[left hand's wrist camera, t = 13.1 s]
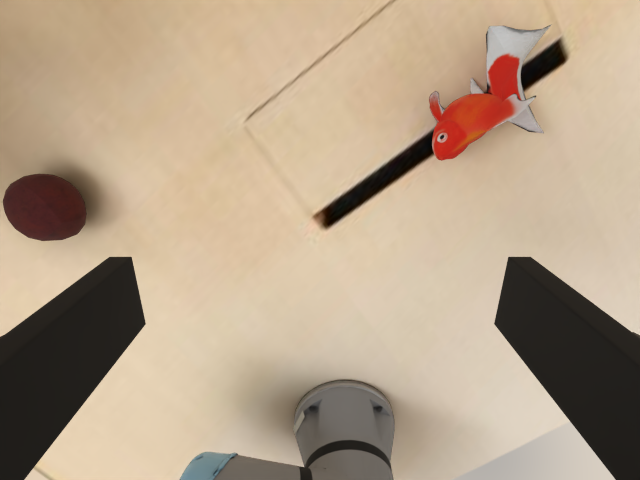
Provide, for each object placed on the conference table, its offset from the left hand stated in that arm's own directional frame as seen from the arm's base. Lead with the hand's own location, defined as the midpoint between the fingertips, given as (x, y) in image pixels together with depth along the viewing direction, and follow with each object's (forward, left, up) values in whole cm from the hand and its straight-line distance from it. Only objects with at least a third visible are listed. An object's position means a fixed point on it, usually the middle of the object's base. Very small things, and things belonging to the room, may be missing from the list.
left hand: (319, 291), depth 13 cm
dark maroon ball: (-5, +30, -31) cm, 43 cm away
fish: (+7, -17, -31) cm, 36 cm away
